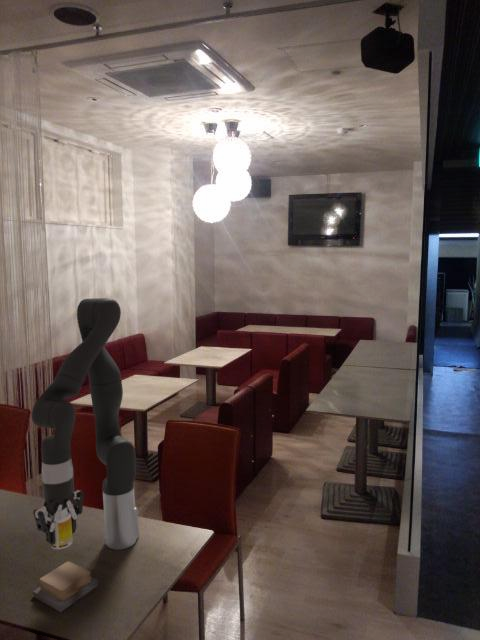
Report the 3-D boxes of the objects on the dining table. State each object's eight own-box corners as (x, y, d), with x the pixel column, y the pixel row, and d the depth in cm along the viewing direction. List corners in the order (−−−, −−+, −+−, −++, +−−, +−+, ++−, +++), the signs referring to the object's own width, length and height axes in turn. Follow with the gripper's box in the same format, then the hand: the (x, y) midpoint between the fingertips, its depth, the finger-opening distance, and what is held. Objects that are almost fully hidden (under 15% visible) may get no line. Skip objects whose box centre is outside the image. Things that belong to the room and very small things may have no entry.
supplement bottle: (76, 539, 136) (74, 502, 134) (67, 551, 130) (64, 513, 129) (56, 537, 136) (54, 501, 135) (46, 550, 131) (43, 512, 129)
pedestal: (71, 571, 143) (70, 556, 142) (98, 585, 137) (97, 569, 136) (33, 596, 133) (32, 580, 132) (60, 612, 127) (59, 595, 126)
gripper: (71, 463, 138) (75, 521, 141) (23, 483, 127) (28, 546, 129) (90, 469, 134) (93, 529, 137) (42, 491, 122) (46, 556, 125)
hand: (61, 537), depth 133 cm, fingers closed on supplement bottle, 5 cm apart
